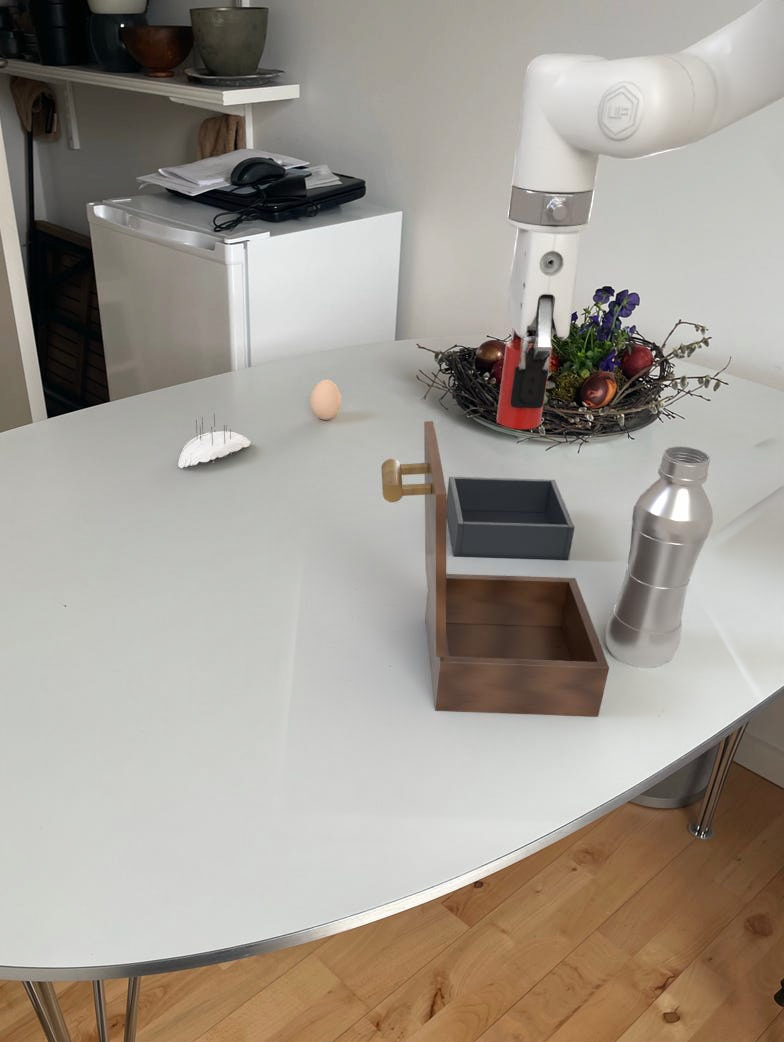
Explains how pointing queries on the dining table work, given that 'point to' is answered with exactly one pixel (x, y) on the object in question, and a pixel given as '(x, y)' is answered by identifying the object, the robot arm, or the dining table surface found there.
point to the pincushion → (211, 446)
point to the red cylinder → (506, 412)
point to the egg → (325, 400)
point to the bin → (508, 519)
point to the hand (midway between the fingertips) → (522, 395)
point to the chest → (517, 648)
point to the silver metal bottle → (661, 561)
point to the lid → (427, 523)
